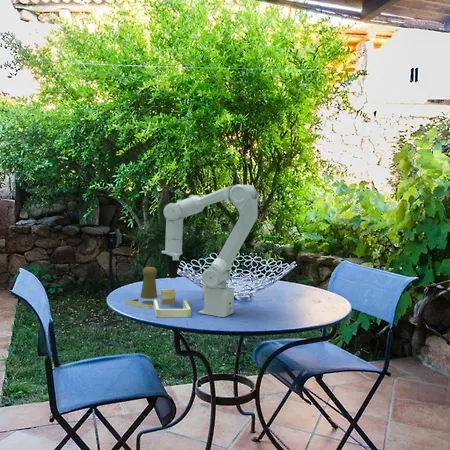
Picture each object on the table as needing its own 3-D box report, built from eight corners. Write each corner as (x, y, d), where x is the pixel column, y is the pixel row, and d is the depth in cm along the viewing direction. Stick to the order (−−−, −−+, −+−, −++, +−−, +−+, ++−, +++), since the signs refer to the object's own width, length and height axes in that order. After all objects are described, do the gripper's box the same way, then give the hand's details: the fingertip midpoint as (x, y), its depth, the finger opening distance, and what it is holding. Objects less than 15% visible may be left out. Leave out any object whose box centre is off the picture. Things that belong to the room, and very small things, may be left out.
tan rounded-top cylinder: (218, 298, 186) (219, 285, 186) (212, 301, 182) (213, 288, 181) (206, 296, 188) (207, 283, 188) (200, 299, 184) (200, 286, 183)
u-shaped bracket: (190, 317, 159) (190, 309, 159) (156, 317, 157) (156, 309, 157) (185, 306, 172) (185, 299, 172) (153, 307, 170) (153, 299, 170)
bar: (158, 306, 172) (158, 301, 172) (149, 309, 167) (149, 305, 167) (134, 301, 176) (134, 297, 176) (125, 304, 171) (125, 300, 171)
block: (174, 304, 175) (175, 292, 174) (162, 304, 174) (162, 292, 174) (173, 301, 179) (174, 289, 179) (161, 301, 178) (161, 289, 178)
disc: (160, 302, 176) (160, 302, 176) (150, 306, 170) (150, 305, 170) (145, 300, 178) (145, 299, 178) (136, 303, 173) (136, 303, 173)
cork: (158, 295, 187) (159, 266, 186) (155, 299, 181) (156, 269, 180) (143, 294, 188) (143, 265, 187) (138, 298, 182) (139, 268, 181)
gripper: (160, 235, 176) (158, 273, 177) (164, 241, 162) (162, 282, 163) (180, 236, 178) (178, 273, 179) (185, 241, 163) (184, 282, 165)
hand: (172, 277), depth 171 cm, fingers closed
